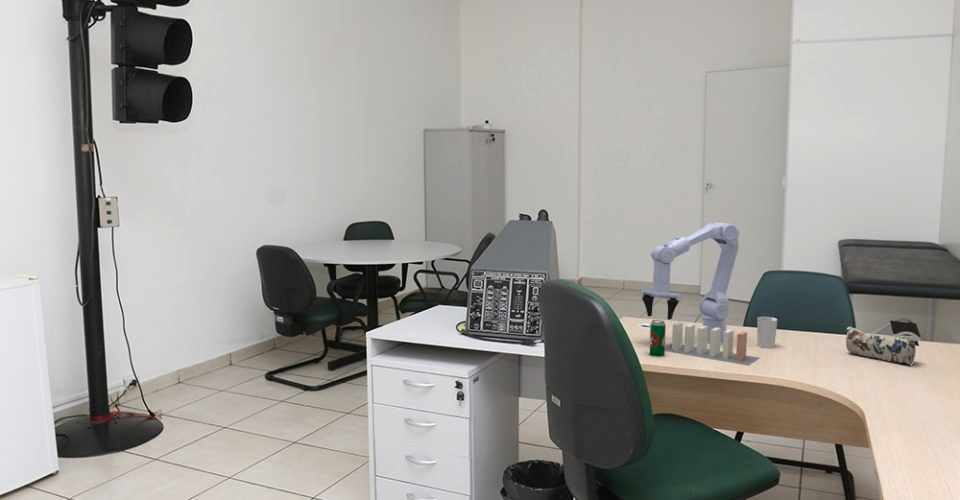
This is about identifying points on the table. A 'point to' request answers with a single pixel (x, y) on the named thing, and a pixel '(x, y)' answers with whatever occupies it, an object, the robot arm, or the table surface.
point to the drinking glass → (766, 331)
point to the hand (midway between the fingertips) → (659, 317)
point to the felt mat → (732, 359)
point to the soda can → (657, 338)
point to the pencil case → (881, 346)
